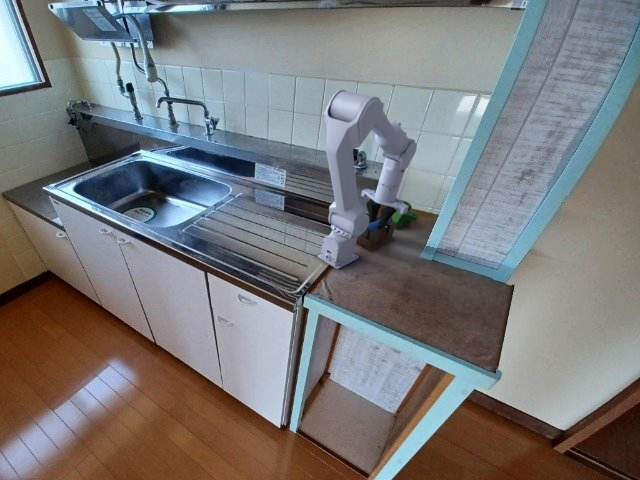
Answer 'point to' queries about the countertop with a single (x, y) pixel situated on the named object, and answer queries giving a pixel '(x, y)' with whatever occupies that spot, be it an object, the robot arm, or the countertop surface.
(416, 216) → the clamp
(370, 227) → the handle
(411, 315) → the countertop surface
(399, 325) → the countertop surface
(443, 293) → the countertop surface
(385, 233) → the holder
